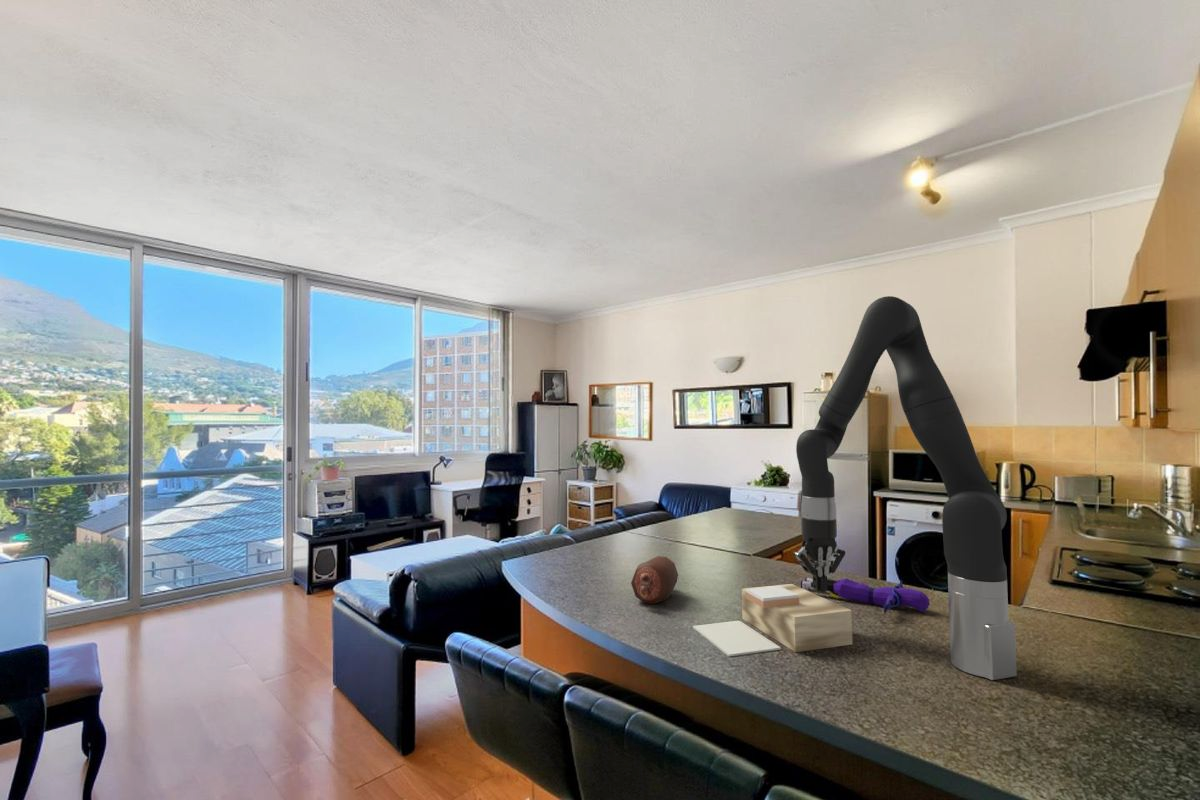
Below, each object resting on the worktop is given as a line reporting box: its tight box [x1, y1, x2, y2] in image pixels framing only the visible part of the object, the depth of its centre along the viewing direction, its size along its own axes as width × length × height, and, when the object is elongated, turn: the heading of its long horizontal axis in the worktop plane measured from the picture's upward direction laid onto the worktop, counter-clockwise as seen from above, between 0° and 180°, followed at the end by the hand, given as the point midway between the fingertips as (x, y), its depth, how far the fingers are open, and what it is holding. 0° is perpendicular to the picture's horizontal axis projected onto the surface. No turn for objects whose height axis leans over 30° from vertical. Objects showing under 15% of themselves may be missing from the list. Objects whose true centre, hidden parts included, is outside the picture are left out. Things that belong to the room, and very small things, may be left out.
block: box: [741, 583, 853, 653], centre depth 119 cm, size 20×14×7 cm
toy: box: [800, 576, 931, 615], centre depth 139 cm, size 27×6×30 cm
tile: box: [745, 585, 799, 608], centre depth 118 cm, size 7×9×2 cm
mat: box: [692, 620, 782, 657], centre depth 115 cm, size 16×12×1 cm
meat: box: [630, 555, 679, 605], centre depth 142 cm, size 20×12×10 cm, turn 156°
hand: (820, 592), depth 121 cm, fingers closed
